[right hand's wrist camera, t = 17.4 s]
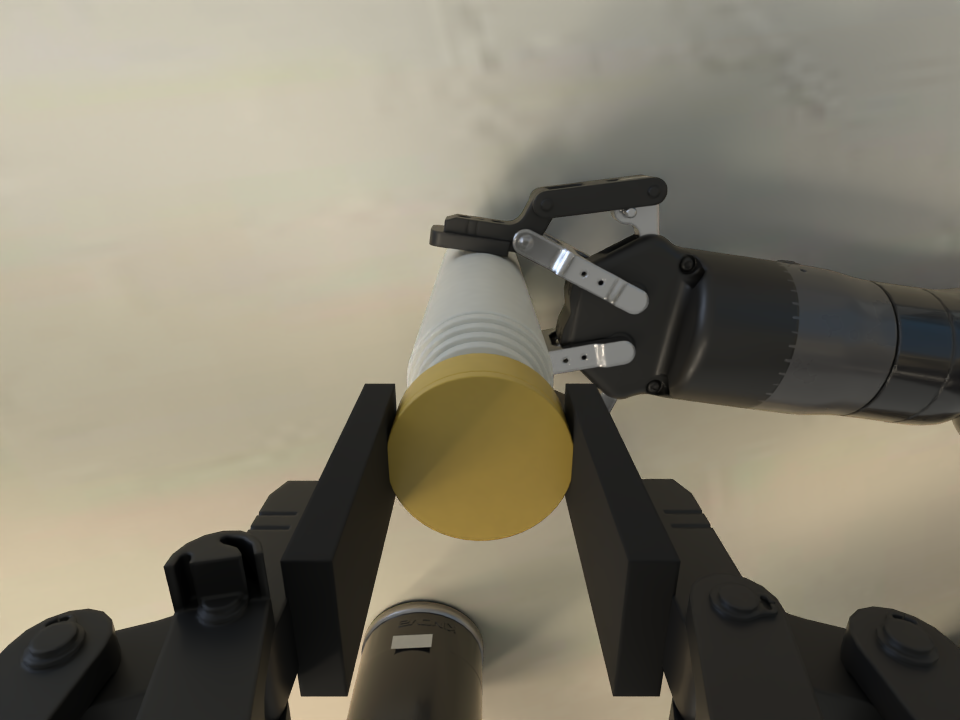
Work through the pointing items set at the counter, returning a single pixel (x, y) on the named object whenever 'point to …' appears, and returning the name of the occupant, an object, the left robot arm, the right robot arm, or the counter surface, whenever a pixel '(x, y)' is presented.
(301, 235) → the counter surface
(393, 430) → the cap
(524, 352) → the bottle
